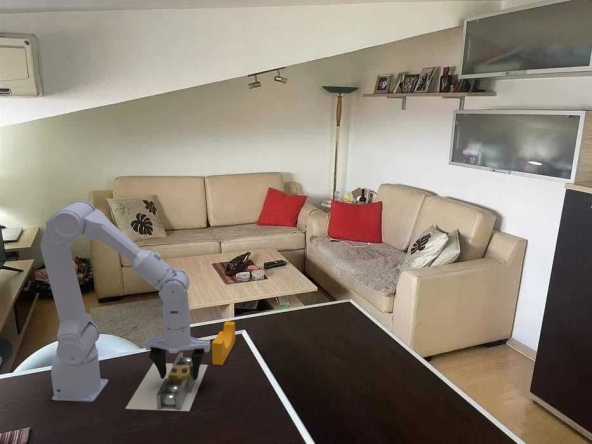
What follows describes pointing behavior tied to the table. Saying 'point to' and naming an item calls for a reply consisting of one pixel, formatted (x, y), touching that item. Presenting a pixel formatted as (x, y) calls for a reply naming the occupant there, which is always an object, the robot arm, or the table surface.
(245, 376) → the table surface
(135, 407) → the mat
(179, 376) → the tan knob cube
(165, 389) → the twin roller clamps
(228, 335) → the pipe clamp
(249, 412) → the table surface
